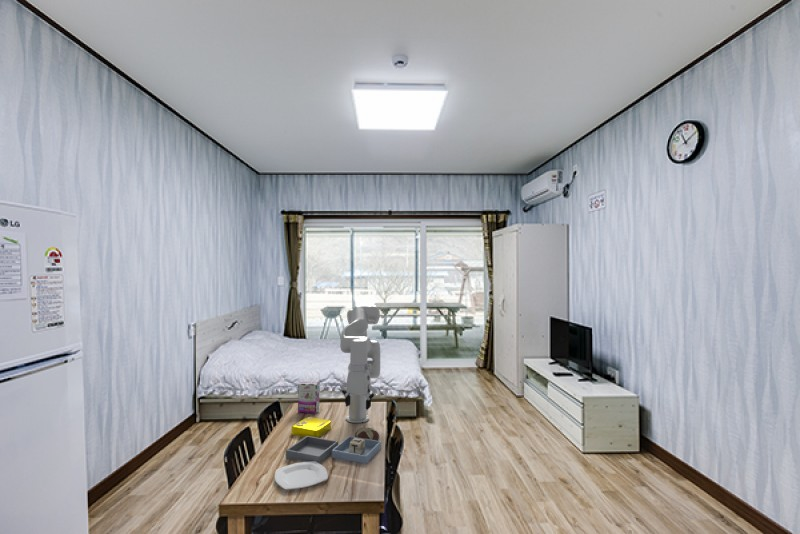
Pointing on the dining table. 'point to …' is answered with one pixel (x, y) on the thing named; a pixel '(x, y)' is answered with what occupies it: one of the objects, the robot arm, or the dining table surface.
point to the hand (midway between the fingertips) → (357, 407)
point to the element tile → (311, 427)
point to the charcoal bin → (311, 449)
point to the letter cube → (357, 446)
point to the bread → (367, 434)
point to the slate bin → (343, 453)
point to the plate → (300, 475)
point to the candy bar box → (308, 397)
